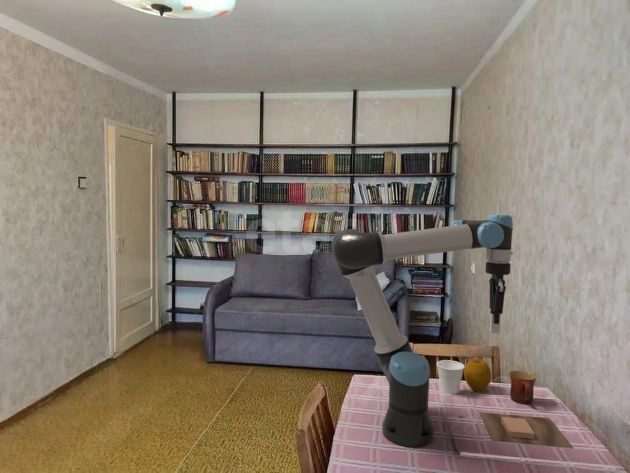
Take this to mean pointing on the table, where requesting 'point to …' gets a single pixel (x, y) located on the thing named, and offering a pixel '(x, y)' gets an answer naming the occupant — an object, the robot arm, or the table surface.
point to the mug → (522, 386)
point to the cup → (450, 376)
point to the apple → (477, 374)
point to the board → (541, 427)
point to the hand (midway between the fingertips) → (494, 332)
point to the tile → (517, 427)
